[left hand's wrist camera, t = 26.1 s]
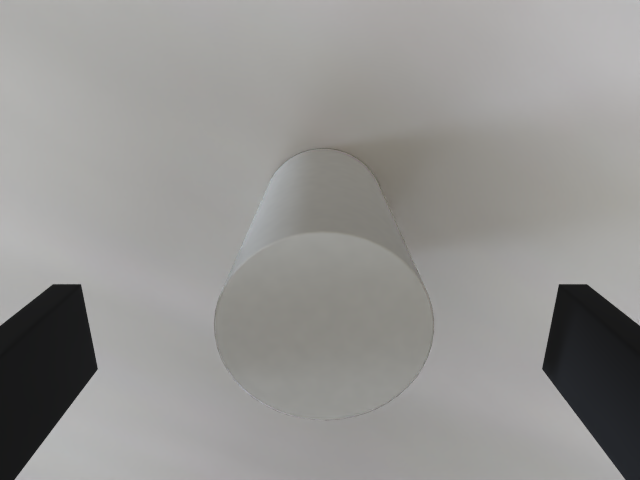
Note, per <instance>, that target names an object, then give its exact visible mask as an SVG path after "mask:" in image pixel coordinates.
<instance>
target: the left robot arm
mask: <svg viewBox="0 0 640 480" xmlns="http://www.w3.org/2000/svg"><path fill="white" fill-rule="evenodd" d="M97 369H98V368H97V363H96V358H95V353H94V348H93V343H92V338H91V333H90V328H89V323H88V318H87V312H86V307H85V302H84V297H83V292H82V287H81V284H53V285H52V286H50V287H49V288H48V289H47V290H45V291H44V292H43V293H41V294H40V295H39V296H38V297H36V298H35V299H34V300H33V301H31V302H30V303H29V304H28V305H26V306H25V307H24V308H22V309H21V310H20V311H19V312H17V313H16V314H15V315H14V316H12V317H11V318H10V319H8V320H7V321H6V322H5V323H3V324H2V325H1V326H0V480H15V478H16V477H17V476H18V474H19V473H20V472H21V470H22V469H23V468H24V466H25V465H26V464H27V462H28V461H29V460H30V458H31V457H32V456H33V454H34V453H35V452H36V450H37V449H38V448H39V446H40V445H41V444H42V442H43V441H44V440H45V438H46V437H47V436H48V434H49V433H50V432H51V430H52V429H53V428H54V426H55V425H56V424H57V422H58V421H59V420H60V418H61V417H62V416H63V414H64V413H65V412H66V411H67V409H68V408H69V407H70V405H71V404H72V403H73V401H74V400H75V399H76V397H77V396H78V395H79V393H80V392H81V391H82V389H83V388H84V387H85V385H86V384H87V383H88V381H89V380H90V379H91V377H92V376H93V375H94V373H95V372H96V371H97ZM542 369H543V371H544V372H545V373H546V375H547V376H548V377H549V379H550V380H551V381H552V383H553V384H554V385H555V387H556V388H557V389H558V391H559V392H560V393H561V395H562V396H563V397H564V399H565V400H566V401H567V403H568V404H569V405H570V407H571V408H572V409H573V411H574V412H575V413H576V414H577V416H578V417H579V418H580V420H581V421H582V422H583V424H584V425H585V426H586V428H587V429H588V430H589V432H590V433H591V434H592V436H593V437H594V438H595V440H596V441H597V442H598V444H599V445H600V446H601V448H602V449H603V450H604V452H605V453H606V454H607V456H608V457H609V458H610V460H611V461H612V462H613V464H614V465H615V466H616V468H617V469H618V470H619V472H620V473H621V474H622V476H623V477H624V478H625V480H640V326H639V325H638V324H637V323H635V322H634V321H633V320H632V319H630V318H629V317H628V316H626V315H625V314H624V313H623V312H621V311H620V310H619V309H618V308H616V307H615V306H614V305H612V304H611V303H610V302H609V301H607V300H606V299H605V298H604V297H602V296H601V295H600V294H599V293H597V292H596V291H595V290H593V289H592V288H591V287H590V286H588V285H587V284H559V287H558V292H557V297H556V302H555V307H554V312H553V318H552V323H551V328H550V333H549V338H548V343H547V348H546V353H545V358H544V363H543V368H542Z"/></svg>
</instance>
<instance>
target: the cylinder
mask: <svg viewBox="0 0 640 480" xmlns="http://www.w3.org/2000/svg"><path fill="white" fill-rule="evenodd" d="M214 331H215V339H216V344H217V348H218V351H219V354H220V357H221V359H222V361H223V363H224V365H225V367H226V369H227V371H228V372H229V373H230V375H231V376H232V378H233V379H234V380H235V381H236V382H237V384H238V385H239V386H240V387H241V388H242V389H243V390H244V391H246V392H247V393H248V394H249V395H250V396H252V397H253V398H254V399H256V400H257V401H259V402H260V403H262V404H264V405H266V406H268V407H270V408H272V409H274V410H276V411H279V412H281V413H284V414H287V415H291V416H295V417H299V418H305V419H312V420H336V419H344V418H350V417H354V416H358V415H361V414H365V413H367V412H370V411H372V410H375V409H377V408H379V407H381V406H383V405H384V404H386V403H388V402H390V401H391V400H392V399H394V398H395V397H397V396H398V395H399V394H400V393H402V392H403V391H404V390H405V389H406V388H407V387H408V386H409V385H410V384H411V383H412V381H413V380H414V379H415V378H416V377H417V375H418V374H419V372H420V371H421V369H422V368H423V366H424V364H425V361H426V359H427V357H428V355H429V351H430V348H431V345H432V340H433V334H434V317H433V310H432V305H431V302H430V299H429V296H428V293H427V291H426V289H425V286H424V284H423V282H422V280H421V278H420V275H419V273H418V271H417V269H416V267H415V264H414V262H413V260H412V258H411V255H410V253H409V251H408V249H407V247H406V244H405V242H404V240H403V238H402V235H401V233H400V231H399V229H398V227H397V224H396V222H395V220H394V218H393V215H392V213H391V211H390V209H389V207H388V204H387V202H386V200H385V198H384V196H383V193H382V191H381V189H380V187H379V184H378V182H377V180H376V178H375V177H374V175H373V174H372V172H371V171H370V170H369V169H368V168H367V166H366V165H364V164H363V163H362V162H361V161H360V160H358V159H357V158H355V157H354V156H352V155H349V154H347V153H345V152H342V151H339V150H333V149H314V150H309V151H305V152H303V153H300V154H298V155H296V156H294V157H292V158H290V159H289V160H288V161H286V162H285V163H284V164H283V165H282V166H281V167H280V168H279V169H278V170H277V171H276V172H275V174H274V175H273V177H272V179H271V180H270V183H269V185H268V187H267V189H266V192H265V194H264V196H263V198H262V201H261V203H260V205H259V208H258V210H257V212H256V214H255V217H254V219H253V221H252V223H251V226H250V228H249V230H248V232H247V235H246V237H245V239H244V242H243V244H242V246H241V248H240V251H239V253H238V255H237V257H236V260H235V262H234V264H233V266H232V269H231V271H230V273H229V276H228V278H227V280H226V282H225V285H224V287H223V289H222V292H221V294H220V296H219V299H218V302H217V306H216V310H215V319H214Z"/></svg>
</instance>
